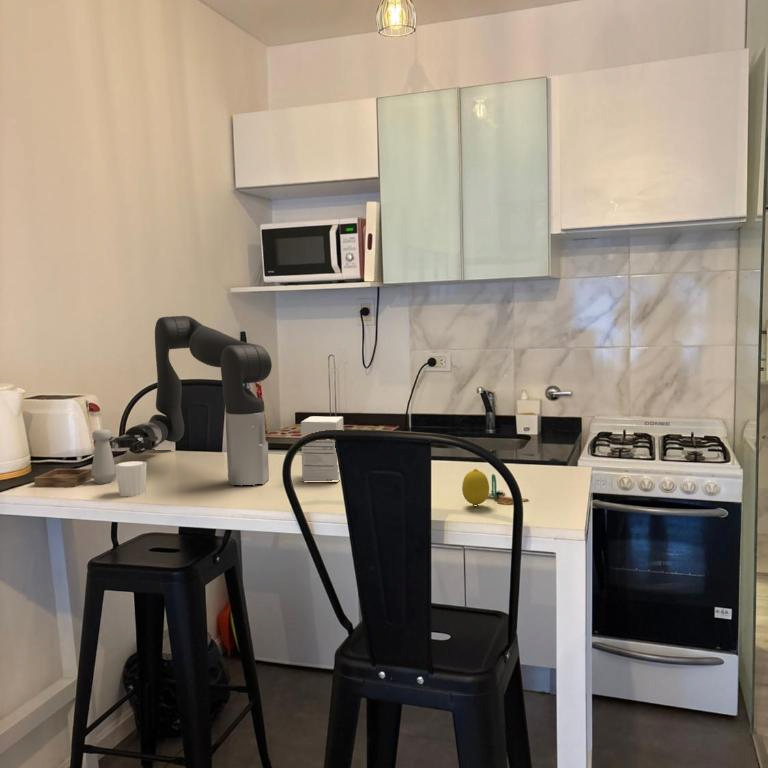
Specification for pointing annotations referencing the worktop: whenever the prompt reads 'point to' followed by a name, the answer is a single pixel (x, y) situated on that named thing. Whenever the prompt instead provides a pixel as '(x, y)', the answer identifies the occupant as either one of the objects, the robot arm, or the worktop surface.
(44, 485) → the wooden tray
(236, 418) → the robot arm
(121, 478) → the shot glass
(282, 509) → the worktop surface
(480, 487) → the lemon
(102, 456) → the salt shaker
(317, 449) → the supplement box
